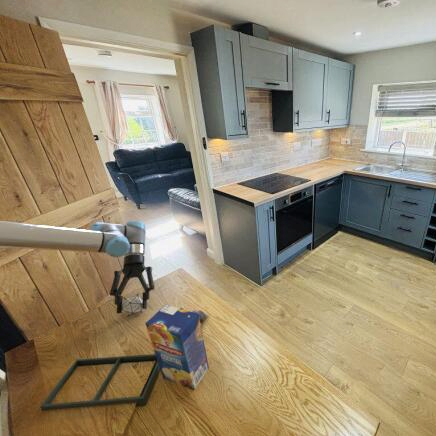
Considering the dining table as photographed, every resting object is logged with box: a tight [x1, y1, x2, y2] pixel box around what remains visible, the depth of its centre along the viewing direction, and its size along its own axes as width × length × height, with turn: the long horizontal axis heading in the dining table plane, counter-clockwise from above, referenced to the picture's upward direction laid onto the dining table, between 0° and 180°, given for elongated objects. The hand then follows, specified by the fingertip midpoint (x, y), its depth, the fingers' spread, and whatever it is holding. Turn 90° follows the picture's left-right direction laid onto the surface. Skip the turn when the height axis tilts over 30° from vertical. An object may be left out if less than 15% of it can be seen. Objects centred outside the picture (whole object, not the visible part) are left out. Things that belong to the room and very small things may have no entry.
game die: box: [120, 293, 143, 317], centre depth 98 cm, size 9×8×10 cm
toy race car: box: [179, 307, 207, 325], centre depth 93 cm, size 10×15×6 cm, turn 69°
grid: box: [39, 353, 161, 412], centre depth 73 cm, size 27×14×4 cm, turn 95°
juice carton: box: [145, 304, 210, 391], centre depth 72 cm, size 12×8×24 cm, turn 72°
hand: (131, 310), depth 95 cm, fingers closed on game die, 8 cm apart
